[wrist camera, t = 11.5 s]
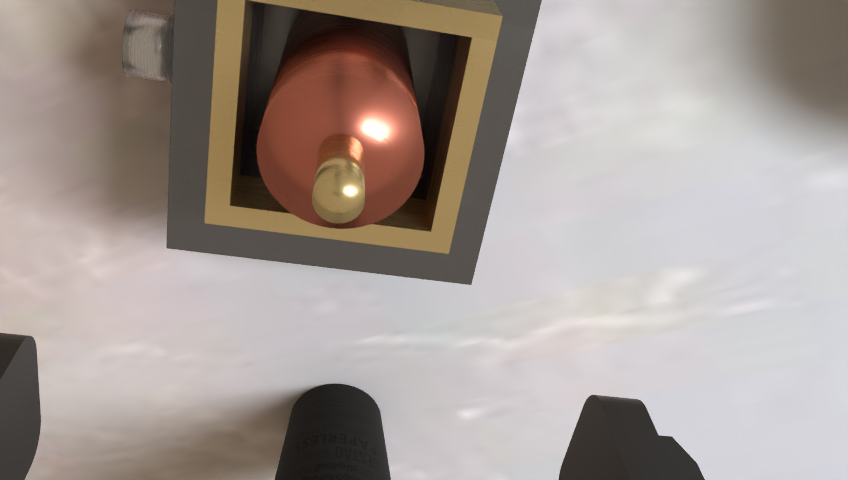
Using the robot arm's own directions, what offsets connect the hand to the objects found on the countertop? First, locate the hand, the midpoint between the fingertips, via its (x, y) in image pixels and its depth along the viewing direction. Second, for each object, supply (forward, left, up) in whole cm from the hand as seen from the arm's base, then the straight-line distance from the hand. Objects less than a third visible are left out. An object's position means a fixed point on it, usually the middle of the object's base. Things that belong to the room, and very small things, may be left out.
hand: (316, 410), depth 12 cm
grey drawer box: (+2, -1, -24) cm, 24 cm away
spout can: (+2, 0, -23) cm, 23 cm away
